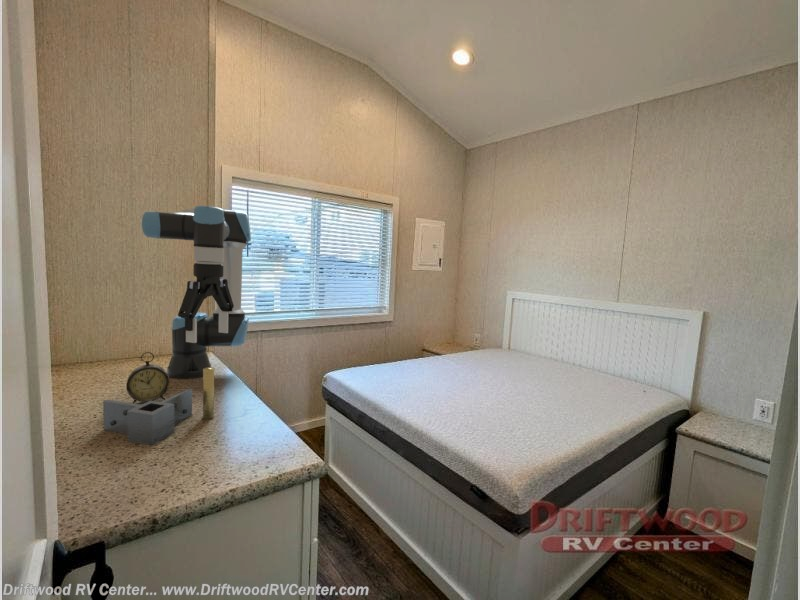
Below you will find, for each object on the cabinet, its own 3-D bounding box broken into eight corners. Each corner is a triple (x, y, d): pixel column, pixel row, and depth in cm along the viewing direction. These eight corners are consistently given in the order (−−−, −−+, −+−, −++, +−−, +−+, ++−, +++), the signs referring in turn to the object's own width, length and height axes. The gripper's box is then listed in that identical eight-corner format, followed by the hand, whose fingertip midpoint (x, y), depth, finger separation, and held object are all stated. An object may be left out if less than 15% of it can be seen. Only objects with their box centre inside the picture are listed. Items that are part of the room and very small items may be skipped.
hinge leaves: (149, 408, 115) (148, 383, 114) (201, 416, 112) (201, 390, 111) (93, 435, 97) (92, 405, 96) (152, 445, 94) (152, 414, 94)
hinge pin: (207, 415, 113) (207, 366, 111) (215, 416, 112) (216, 367, 111) (200, 418, 110) (200, 369, 108) (209, 420, 110) (209, 370, 108)
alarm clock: (126, 408, 114) (125, 355, 112) (127, 401, 118) (126, 351, 117) (169, 402, 120) (168, 352, 118) (168, 396, 124) (168, 348, 122)
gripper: (224, 261, 119) (224, 328, 121) (161, 262, 94) (162, 345, 97) (246, 263, 117) (245, 330, 120) (188, 264, 93) (188, 348, 95)
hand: (208, 337), depth 108 cm, fingers open, 13 cm apart
